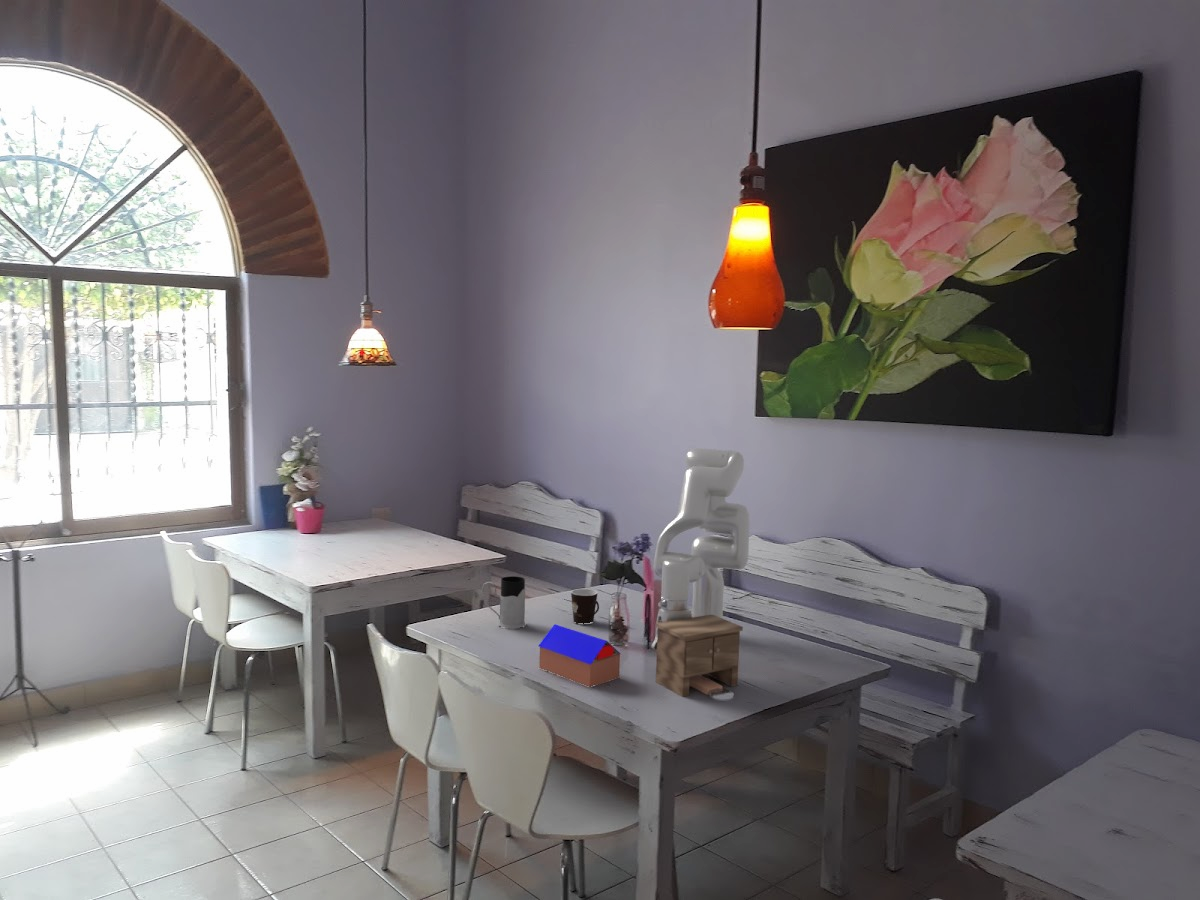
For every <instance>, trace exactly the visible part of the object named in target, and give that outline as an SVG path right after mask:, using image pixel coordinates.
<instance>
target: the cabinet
mask: <svg viewBox="0 0 1200 900" xmlns="http://www.w3.org/2000/svg"><path fill="white" fill-rule="evenodd" d="M654 627H655V628H656V627H657V628H658V634H657V651H656V664H655V665H656V668H655V682H656V684H659V685H660V686H663V687H664V688H666V689H668V690H670V691H672V692H673V693H675V694H677V695H679V696H681V697H682V698H683V697H688V696H690V685H689V681H690V676H695V675H708V676H709V677H711V678H713V679H715V680H717V681H719V682H721V683H723V682H724V683H723V684H725V683H726V684H725V685H727V684H728V685H727V686H729V685H730V686H729V687H731V686H732V687H735V686H734V685H737V686H738V682H739V679H738V678H739V677H738V675H739V657H740V656H739V655H740V654H739V653H740V639H741V638H740V637H741V634H740V632H741V631H744V630H743V628H744V627H743V625H742V626H741V625H739V624H736V623H734V622H732V621H729V620H727V619H724V618H723V617H722V618H719V617H717V616H714V615H705V616H699V617H692V618H685V619H679V620H672V621H665V622H659V623H656V622H655V623H654Z"/></svg>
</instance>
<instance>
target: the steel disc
mask: <svg viewBox="0 0 1200 900" xmlns="http://www.w3.org/2000/svg"><path fill="white" fill-rule="evenodd" d="M734 694H735V693H734V692H733V691H732V690H730V689H726V688H722V689H712V690H711V691H710V694H709V698H710V699H711V700H713V701H716V702H722V701H726V702H730V701H729V700H731V699H733V700H734ZM731 701H732V700H731Z"/></svg>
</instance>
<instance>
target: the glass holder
mask: <svg viewBox="0 0 1200 900" xmlns="http://www.w3.org/2000/svg"><path fill="white" fill-rule="evenodd" d="M525 581H526V579H525V578H524V577H523V576H513V575H512V576H505V577H502V578H501V580H500V594H498V593H497V587H496V585H495V584H494V582H491V581H487V582H485V583H483V585H482V588H481V593H482V599H483V601H484V603H485V606H487V607H488V609H490V610H491V611H492V612H493V613H494V614H496V616H498V620H499V622H498V624H499V626H501V627H505V628H520V627H523V626H525V624H526V621H525V613H526V611H525V610H526V604H525V603H526V586H525V585H526V582H525ZM486 584H491V585H492V586H493V588H494V594H495V595H496V596H497V597H499V599H500V600H499V601H500V602H499V613H498V612H497V611H496V610H495V609H494V608H492V607H491V606H490V605H489V604H488V601H487V599H486V597H485V595H484V586H485V585H486ZM499 626H498V627H499ZM501 627H500V628H501ZM525 627H526V626H525ZM523 628H524V627H523ZM520 629H521V628H520Z"/></svg>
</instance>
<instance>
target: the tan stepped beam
mask: <svg viewBox="0 0 1200 900" xmlns="http://www.w3.org/2000/svg"><path fill="white" fill-rule="evenodd" d="M689 687H691V688H694V689H695V690H697V691H699V692H701V693H703V694H705V695H710V691H711V690H712V689H723V685H722V684H720V683H717V681H716V682H715V681H714V680H711V679H710V678H709V677H705V676H703V674H700V675H695V676H690V681H689Z"/></svg>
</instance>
